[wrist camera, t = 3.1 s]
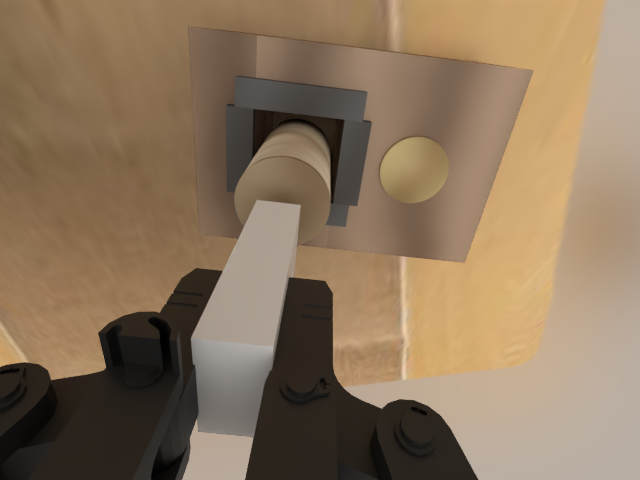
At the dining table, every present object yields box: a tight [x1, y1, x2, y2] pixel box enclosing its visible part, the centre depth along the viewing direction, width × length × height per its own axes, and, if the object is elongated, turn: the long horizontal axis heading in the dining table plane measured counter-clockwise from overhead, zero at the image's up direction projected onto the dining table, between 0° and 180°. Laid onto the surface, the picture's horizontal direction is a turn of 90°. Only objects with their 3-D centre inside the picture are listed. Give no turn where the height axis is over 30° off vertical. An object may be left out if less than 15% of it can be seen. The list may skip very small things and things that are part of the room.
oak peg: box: [234, 119, 330, 245], centre depth 19 cm, size 4×4×8 cm
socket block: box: [188, 27, 534, 263], centre depth 25 cm, size 18×12×9 cm, turn 84°
